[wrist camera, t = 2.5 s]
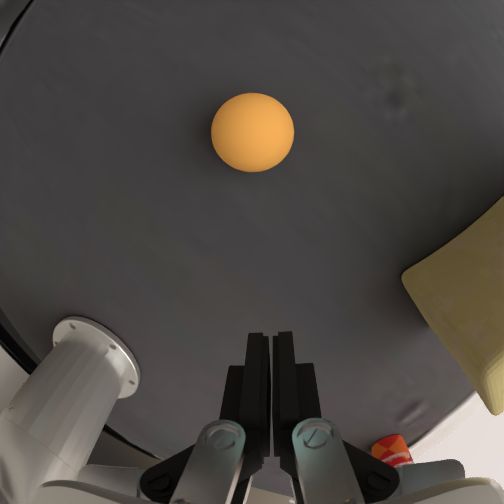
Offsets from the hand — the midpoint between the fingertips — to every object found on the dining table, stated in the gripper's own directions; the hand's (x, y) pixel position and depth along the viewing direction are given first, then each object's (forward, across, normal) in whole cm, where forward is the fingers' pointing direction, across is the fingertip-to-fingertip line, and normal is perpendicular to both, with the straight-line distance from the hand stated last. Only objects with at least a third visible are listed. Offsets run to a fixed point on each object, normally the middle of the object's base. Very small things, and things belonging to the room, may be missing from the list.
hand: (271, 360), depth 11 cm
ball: (+11, +1, -9) cm, 14 cm away
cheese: (+14, -23, 0) cm, 27 cm away
